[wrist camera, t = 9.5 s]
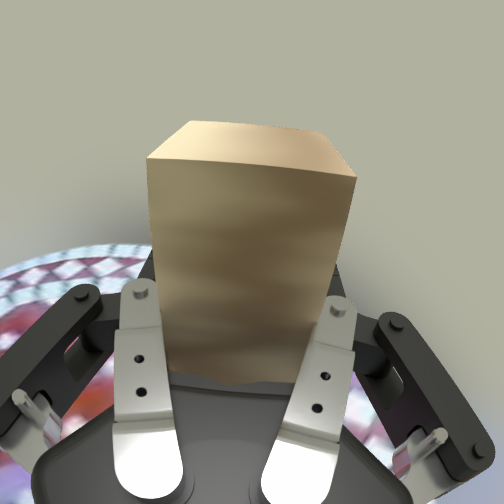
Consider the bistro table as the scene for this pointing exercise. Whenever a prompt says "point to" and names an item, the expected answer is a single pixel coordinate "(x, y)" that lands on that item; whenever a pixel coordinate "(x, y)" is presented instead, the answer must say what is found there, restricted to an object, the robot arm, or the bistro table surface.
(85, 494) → the robot arm
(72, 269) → the bistro table surface
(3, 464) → the bistro table surface
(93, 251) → the bistro table surface
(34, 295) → the bistro table surface
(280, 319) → the maple block
